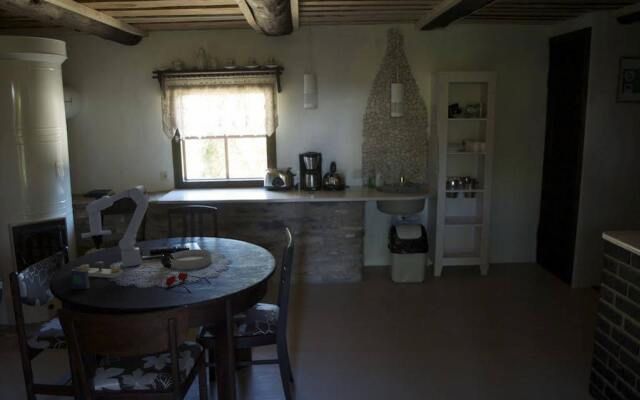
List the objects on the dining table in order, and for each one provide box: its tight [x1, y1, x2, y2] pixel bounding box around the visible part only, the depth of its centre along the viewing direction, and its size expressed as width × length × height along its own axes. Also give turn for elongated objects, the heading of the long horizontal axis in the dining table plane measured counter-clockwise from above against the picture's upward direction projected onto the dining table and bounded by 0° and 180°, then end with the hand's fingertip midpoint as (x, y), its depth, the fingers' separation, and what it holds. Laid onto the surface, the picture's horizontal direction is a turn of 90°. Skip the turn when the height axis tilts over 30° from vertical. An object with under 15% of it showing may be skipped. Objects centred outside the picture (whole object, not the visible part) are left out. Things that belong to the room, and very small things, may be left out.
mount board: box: [88, 267, 124, 279], centre depth 259 cm, size 22×7×2 cm, turn 76°
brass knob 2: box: [110, 265, 121, 273], centre depth 256 cm, size 4×4×4 cm
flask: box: [70, 265, 90, 291], centre depth 238 cm, size 9×3×11 cm, turn 74°
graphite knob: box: [94, 260, 105, 270], centre depth 258 cm, size 4×4×4 cm
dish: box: [169, 248, 212, 270], centre depth 275 cm, size 22×22×5 cm
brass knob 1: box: [80, 263, 90, 270], centre depth 261 cm, size 4×4×4 cm
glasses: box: [164, 271, 212, 294], centre depth 239 cm, size 14×16×5 cm
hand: (98, 248), depth 274 cm, fingers closed
